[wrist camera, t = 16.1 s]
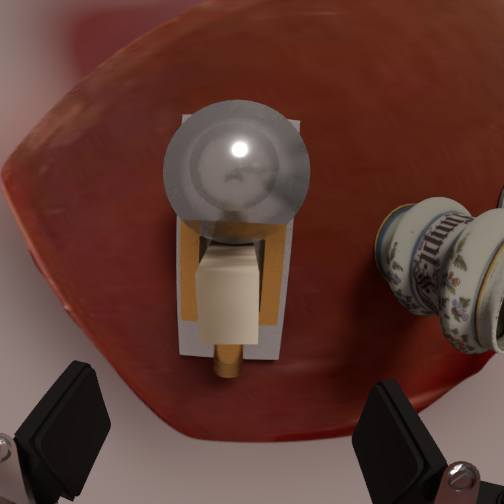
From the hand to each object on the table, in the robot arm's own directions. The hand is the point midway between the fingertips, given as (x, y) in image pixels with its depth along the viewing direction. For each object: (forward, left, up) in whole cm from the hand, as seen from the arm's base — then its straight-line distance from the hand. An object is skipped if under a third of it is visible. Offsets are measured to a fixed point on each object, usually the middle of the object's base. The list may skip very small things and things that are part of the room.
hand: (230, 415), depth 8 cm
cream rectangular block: (0, 0, -20) cm, 20 cm away
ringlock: (0, 0, -22) cm, 22 cm away
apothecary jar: (-20, -2, -22) cm, 29 cm away
